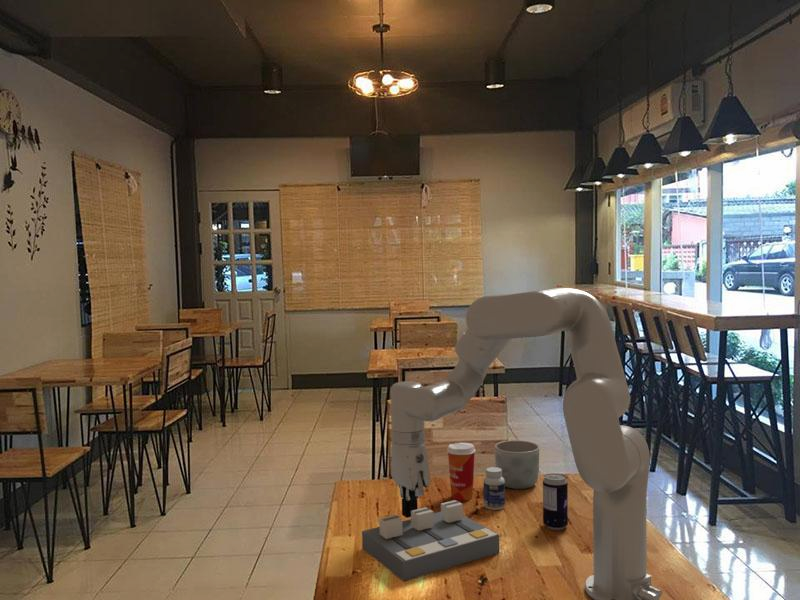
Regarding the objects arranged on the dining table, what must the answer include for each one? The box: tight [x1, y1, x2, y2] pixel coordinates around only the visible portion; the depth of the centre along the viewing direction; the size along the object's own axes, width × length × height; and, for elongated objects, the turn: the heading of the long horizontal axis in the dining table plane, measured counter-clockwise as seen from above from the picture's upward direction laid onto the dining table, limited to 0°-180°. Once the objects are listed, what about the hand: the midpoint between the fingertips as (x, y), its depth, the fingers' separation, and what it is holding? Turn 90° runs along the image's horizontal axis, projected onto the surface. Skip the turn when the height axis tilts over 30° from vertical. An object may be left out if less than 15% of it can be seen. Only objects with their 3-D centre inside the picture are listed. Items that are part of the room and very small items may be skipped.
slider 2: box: [410, 506, 434, 531], centre depth 149 cm, size 3×4×4 cm
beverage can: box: [542, 473, 569, 531], centre depth 159 cm, size 6×6×12 cm
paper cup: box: [446, 442, 477, 502], centre depth 179 cm, size 8×8×14 cm
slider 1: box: [378, 514, 403, 539], centre depth 145 cm, size 3×4×4 cm
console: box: [361, 511, 500, 582], centre depth 147 cm, size 18×24×4 cm
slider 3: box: [440, 499, 464, 523], centre depth 153 cm, size 3×4×4 cm
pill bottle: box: [483, 466, 506, 511], centre depth 172 cm, size 5×5×10 cm
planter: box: [494, 439, 540, 490], centre depth 189 cm, size 12×12×11 cm
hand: (409, 515), depth 154 cm, fingers closed
